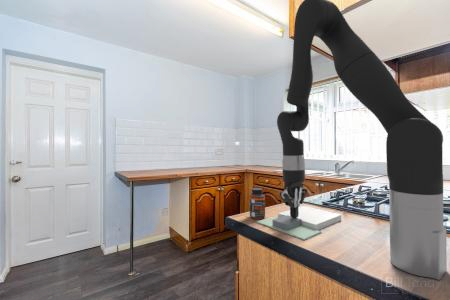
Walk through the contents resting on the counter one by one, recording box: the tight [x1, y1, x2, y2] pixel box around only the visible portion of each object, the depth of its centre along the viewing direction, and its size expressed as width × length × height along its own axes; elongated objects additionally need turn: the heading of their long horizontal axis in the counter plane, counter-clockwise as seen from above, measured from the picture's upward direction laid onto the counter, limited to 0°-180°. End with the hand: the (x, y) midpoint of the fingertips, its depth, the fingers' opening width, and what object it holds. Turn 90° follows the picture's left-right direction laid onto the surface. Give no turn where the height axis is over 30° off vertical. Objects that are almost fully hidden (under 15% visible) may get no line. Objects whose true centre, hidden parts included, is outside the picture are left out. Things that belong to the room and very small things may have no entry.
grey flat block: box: [273, 215, 302, 231], centre depth 78 cm, size 6×8×2 cm
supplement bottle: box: [249, 187, 266, 220], centre depth 88 cm, size 6×6×11 cm
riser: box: [277, 205, 342, 231], centre depth 84 cm, size 16×16×2 cm
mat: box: [256, 216, 322, 241], centre depth 77 cm, size 20×9×1 cm, turn 36°
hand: (294, 217), depth 79 cm, fingers closed
